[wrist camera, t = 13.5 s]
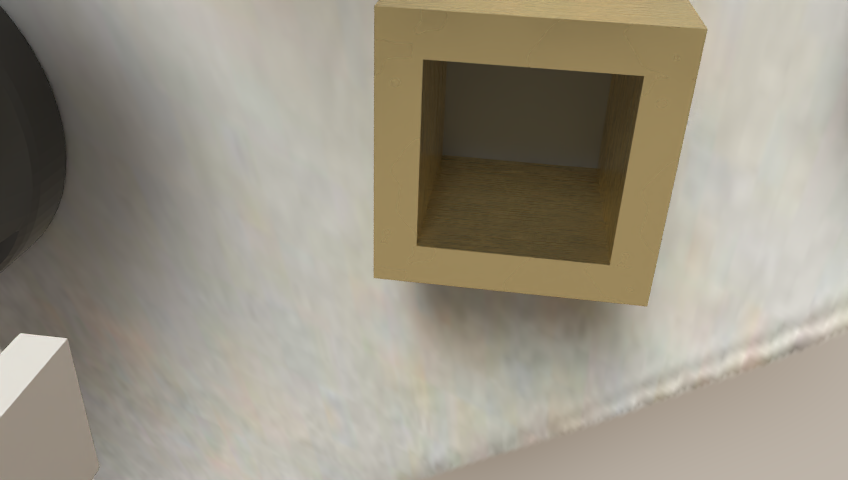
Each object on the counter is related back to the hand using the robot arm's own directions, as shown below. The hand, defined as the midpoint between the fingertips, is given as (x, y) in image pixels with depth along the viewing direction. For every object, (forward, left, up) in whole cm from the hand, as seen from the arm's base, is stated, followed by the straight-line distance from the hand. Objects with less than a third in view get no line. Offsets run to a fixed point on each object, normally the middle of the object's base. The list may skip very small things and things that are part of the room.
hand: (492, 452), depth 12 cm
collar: (0, 0, -17) cm, 17 cm away
